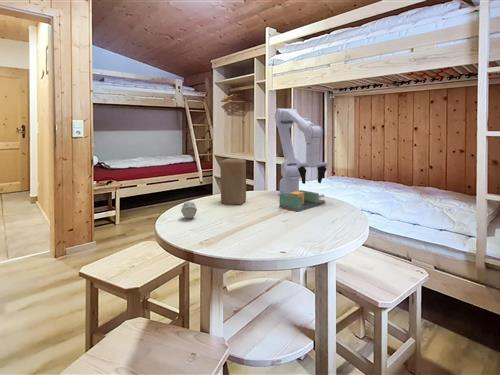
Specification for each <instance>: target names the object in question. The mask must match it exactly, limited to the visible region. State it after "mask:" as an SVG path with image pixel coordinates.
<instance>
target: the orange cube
mask: <svg viewBox="0 0 500 375" xmlns="http://www.w3.org/2000/svg"><path fill="white" fill-rule="evenodd" d="M290 194H292V195H297V196H302V204H304V192H299V191H296V192H291V193H290Z"/></svg>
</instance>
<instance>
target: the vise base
mask: <svg viewBox="0 0 500 375" xmlns="http://www.w3.org/2000/svg"><path fill="white" fill-rule="evenodd" d="M279 194H280V193H279ZM278 201H279V206H278V207H279V208H281V209H285V210H289V211H293V212H301V211H302V212H303V211H305V210H309V209H311V208H315V207H318V206H321V205H325V203H326V200H324V199H321V198H319V202H317V203H315V202H310V201H305V200H304V204H302V196H297V195H292V194H287V193H282V194H280V195H279V200H278Z"/></svg>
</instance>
